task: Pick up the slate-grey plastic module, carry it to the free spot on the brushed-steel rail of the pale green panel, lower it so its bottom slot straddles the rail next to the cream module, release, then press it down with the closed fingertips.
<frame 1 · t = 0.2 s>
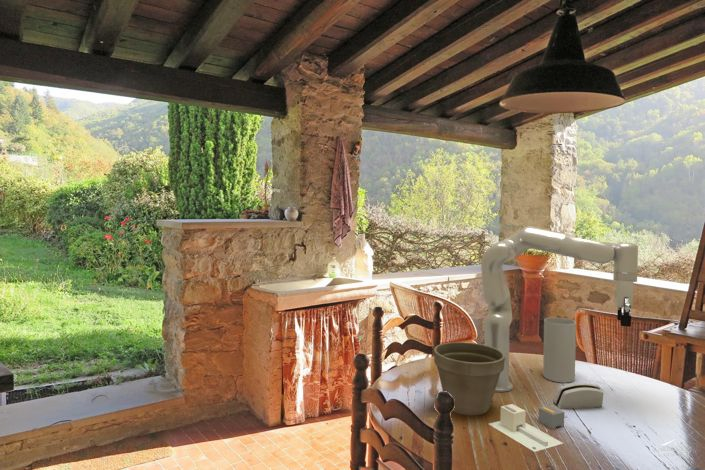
hand: (623, 323, 171), 31 cm above the table, tool pointing down, fingers open, 9 cm apart
cream module: (512, 426, 154), point 1 cm above the table, touching panel
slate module: (551, 427, 156), on the table
cylinder vase: (558, 378, 201), on the table
off-white grooved curved block: (579, 407, 173), on the table
plant pot: (468, 410, 170), on the table
panel: (524, 436, 149), on the table
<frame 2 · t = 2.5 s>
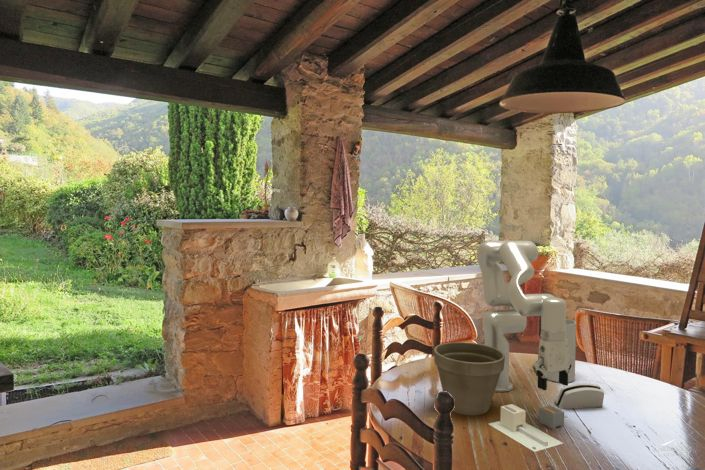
hand: (552, 386, 154), 14 cm above the table, tool pointing down, fingers open, 9 cm apart
nothing on the table moved.
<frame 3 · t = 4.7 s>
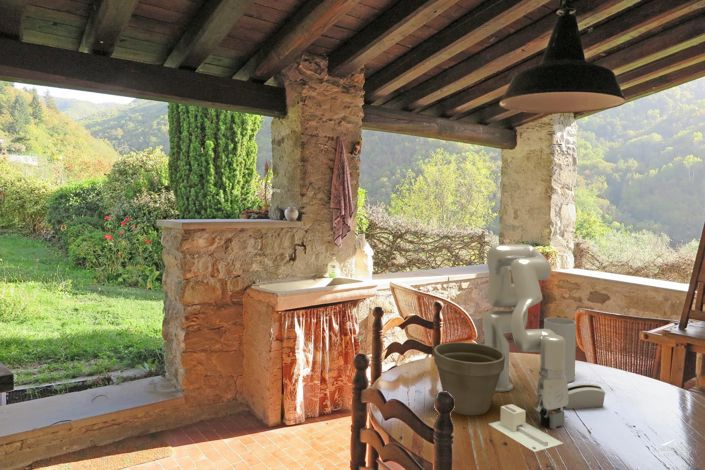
hand: (551, 425, 156), 1 cm above the table, tool pointing down, fingers closed on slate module, 5 cm apart
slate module: (551, 427, 156), on the table, touching gripper
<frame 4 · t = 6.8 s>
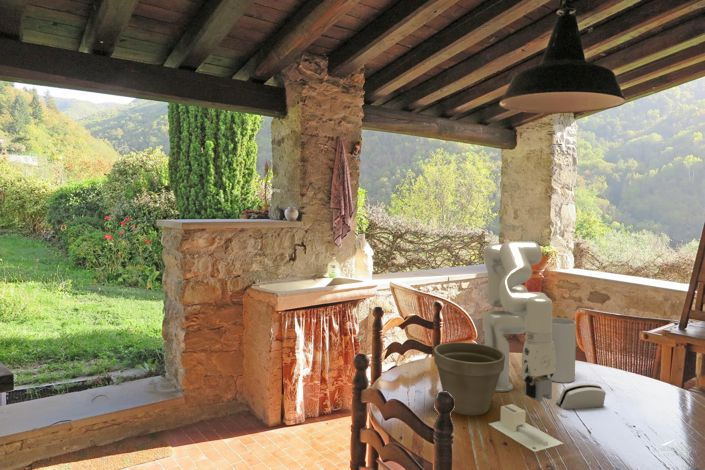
hand: (537, 394, 144), 16 cm above the table, tool pointing down, fingers closed on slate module, 5 cm apart
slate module: (537, 396, 144), point 15 cm above the table, touching gripper
everything else where it was.
when the fingers open (2 cm above the table, at t = 8.8 s): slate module stays where it is, resting on panel.
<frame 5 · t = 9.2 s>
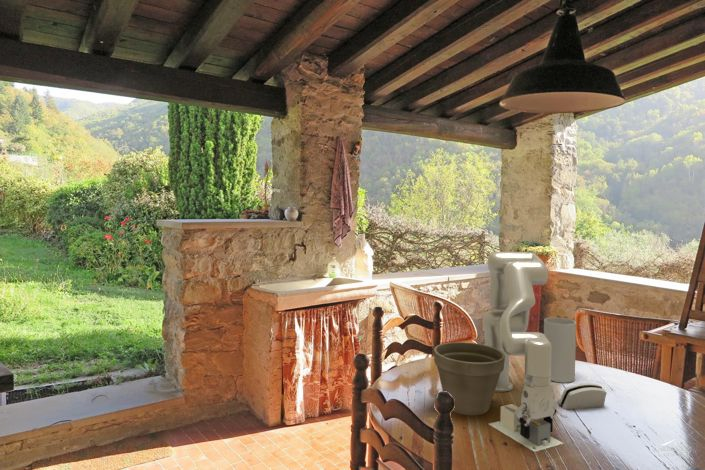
hand: (536, 433, 145), 3 cm above the table, tool pointing down, fingers open, 9 cm apart
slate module: (536, 440, 145), point 1 cm above the table, touching panel
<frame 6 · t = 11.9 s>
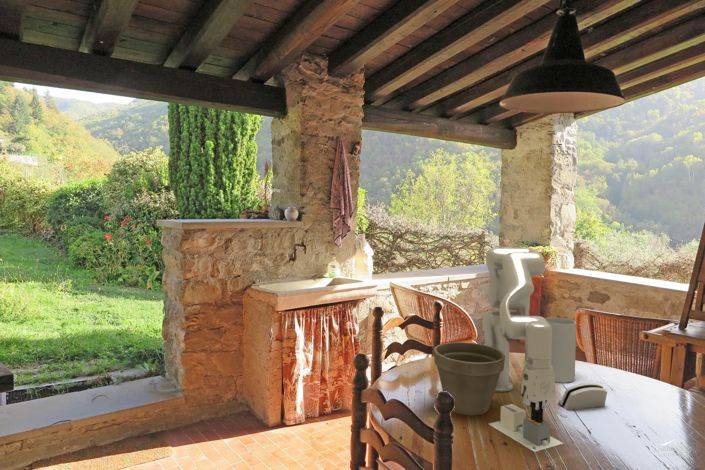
hand: (536, 420, 144), 7 cm above the table, tool pointing down, fingers closed
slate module: (536, 440, 145), point 1 cm above the table, touching gripper, panel
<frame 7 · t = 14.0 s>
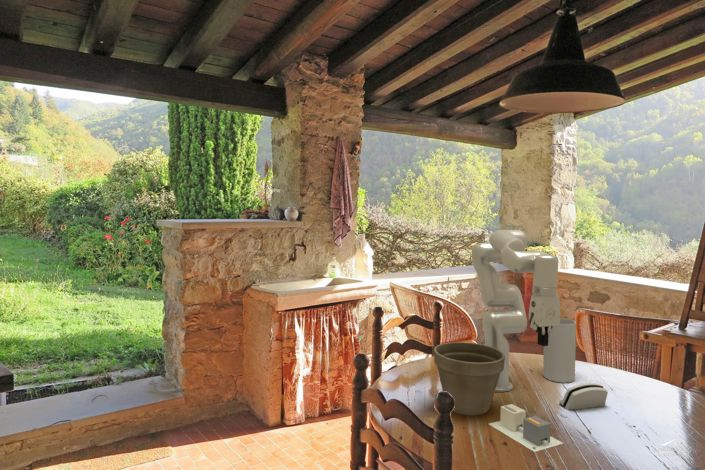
hand: (542, 344, 157), 27 cm above the table, tool pointing down, fingers closed
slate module: (536, 440, 145), point 1 cm above the table, touching panel
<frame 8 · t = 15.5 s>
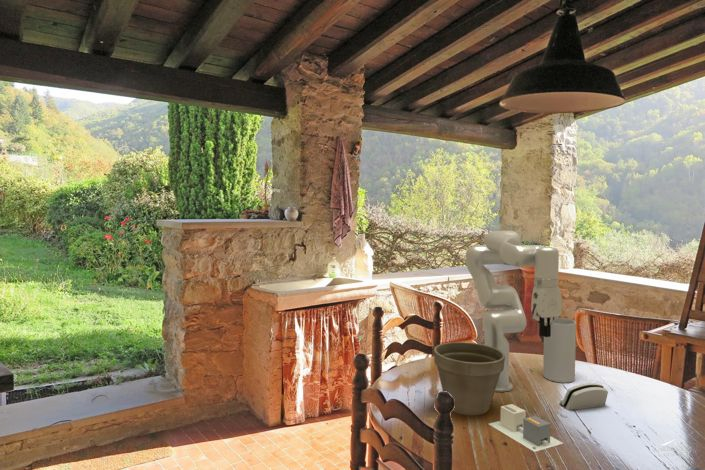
hand: (545, 335, 161), 29 cm above the table, tool pointing down, fingers closed
at the end: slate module 0.0 cm from the target spot on the panel, point 1.2 cm above the panel's base; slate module tilted 0°; the gripper is holding nothing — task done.
